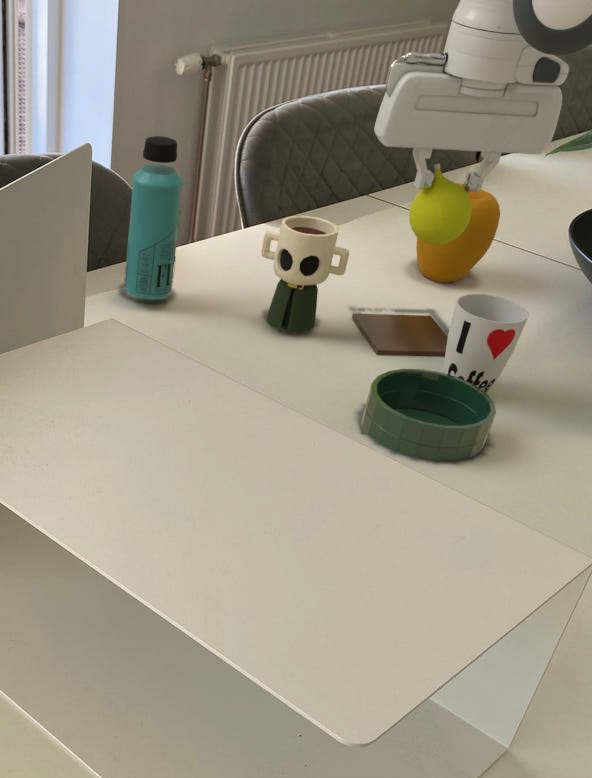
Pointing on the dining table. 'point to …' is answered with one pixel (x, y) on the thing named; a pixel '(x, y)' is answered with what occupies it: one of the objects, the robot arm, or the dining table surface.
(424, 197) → the green fig
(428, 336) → the coaster
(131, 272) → the beverage bottle
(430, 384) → the pot
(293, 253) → the character mug
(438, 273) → the orange rounded piece
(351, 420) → the dining table surface
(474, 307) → the cup
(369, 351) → the dining table surface
